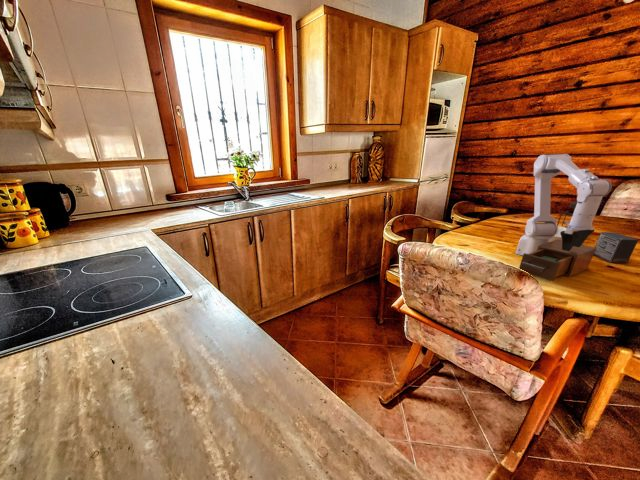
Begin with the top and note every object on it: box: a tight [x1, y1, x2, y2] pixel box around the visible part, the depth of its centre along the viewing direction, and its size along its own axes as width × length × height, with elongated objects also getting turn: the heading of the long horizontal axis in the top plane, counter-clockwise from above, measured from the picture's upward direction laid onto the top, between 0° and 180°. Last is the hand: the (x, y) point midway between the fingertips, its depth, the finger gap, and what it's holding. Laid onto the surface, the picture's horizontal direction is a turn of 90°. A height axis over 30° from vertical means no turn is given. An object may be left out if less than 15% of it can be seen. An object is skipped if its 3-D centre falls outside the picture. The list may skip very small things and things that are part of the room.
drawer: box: [518, 249, 574, 282], centre depth 109 cm, size 18×11×7 cm, turn 115°
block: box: [541, 256, 558, 262], centre depth 110 cm, size 4×4×4 cm
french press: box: [556, 201, 578, 228], centre depth 146 cm, size 12×9×23 cm
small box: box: [593, 231, 639, 264], centre depth 119 cm, size 11×6×10 cm, turn 168°
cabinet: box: [537, 240, 596, 278], centre depth 114 cm, size 15×13×9 cm
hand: (570, 248), depth 107 cm, fingers open, 7 cm apart
